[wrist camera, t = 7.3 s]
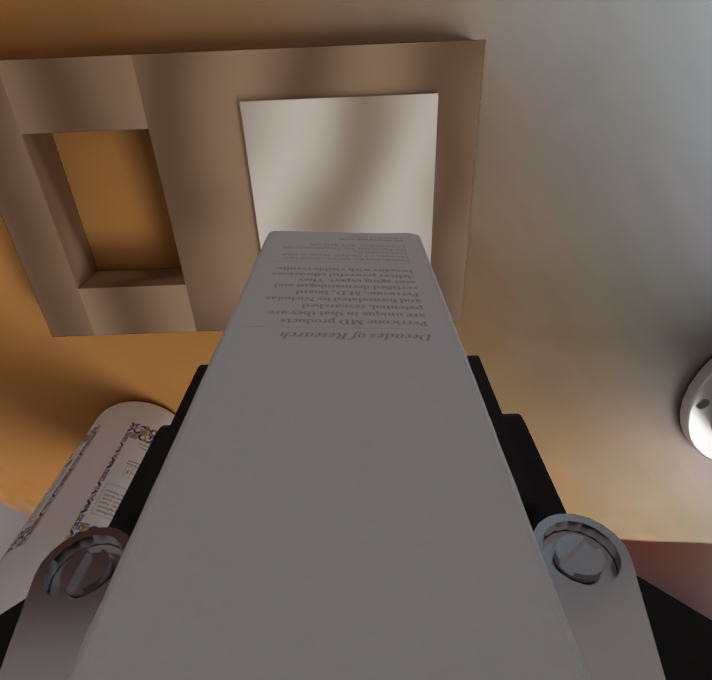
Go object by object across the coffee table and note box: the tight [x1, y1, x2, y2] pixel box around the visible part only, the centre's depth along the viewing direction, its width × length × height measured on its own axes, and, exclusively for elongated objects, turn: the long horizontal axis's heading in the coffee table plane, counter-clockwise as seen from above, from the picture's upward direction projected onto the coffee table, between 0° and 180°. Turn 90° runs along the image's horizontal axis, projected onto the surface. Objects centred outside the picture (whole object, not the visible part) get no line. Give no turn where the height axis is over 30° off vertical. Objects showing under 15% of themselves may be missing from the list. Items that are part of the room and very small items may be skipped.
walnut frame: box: [0, 40, 486, 337], centre depth 26 cm, size 24×14×3 cm, turn 92°
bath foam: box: [0, 401, 175, 614], centre depth 27 cm, size 7×7×20 cm
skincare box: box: [66, 231, 590, 680], centre depth 9 cm, size 6×4×12 cm
